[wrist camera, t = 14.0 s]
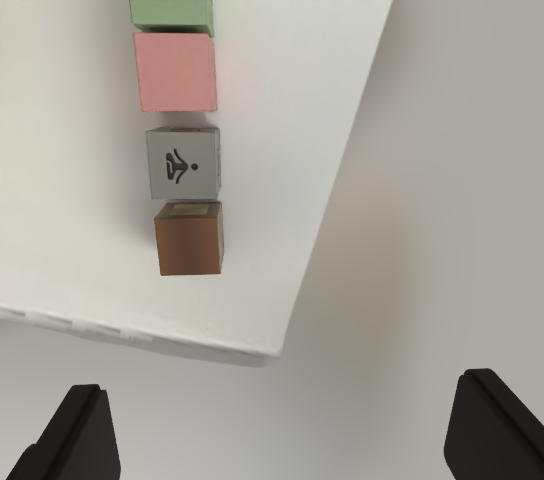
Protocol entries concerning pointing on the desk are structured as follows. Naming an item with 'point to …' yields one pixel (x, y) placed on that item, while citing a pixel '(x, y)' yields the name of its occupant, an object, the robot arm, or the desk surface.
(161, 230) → the brown cube
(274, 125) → the desk surface
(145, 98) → the plain pink block
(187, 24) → the green cube
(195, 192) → the dice cube
